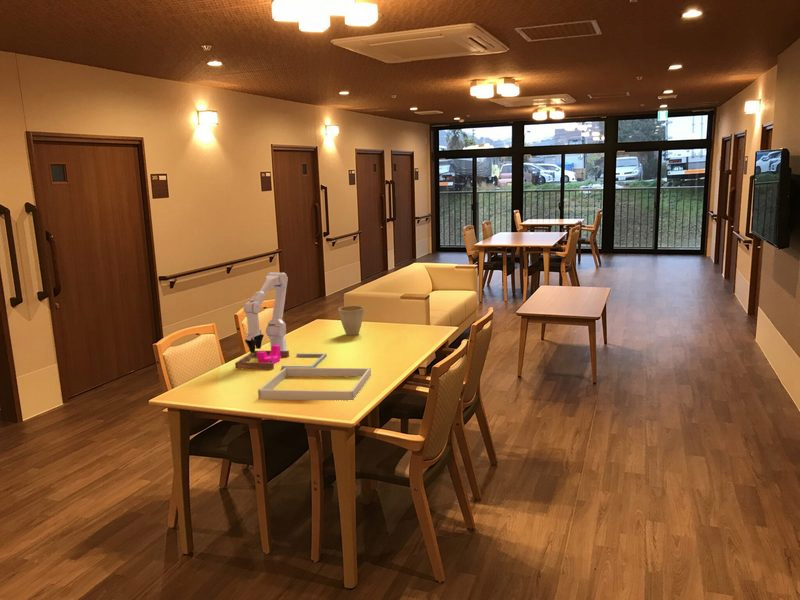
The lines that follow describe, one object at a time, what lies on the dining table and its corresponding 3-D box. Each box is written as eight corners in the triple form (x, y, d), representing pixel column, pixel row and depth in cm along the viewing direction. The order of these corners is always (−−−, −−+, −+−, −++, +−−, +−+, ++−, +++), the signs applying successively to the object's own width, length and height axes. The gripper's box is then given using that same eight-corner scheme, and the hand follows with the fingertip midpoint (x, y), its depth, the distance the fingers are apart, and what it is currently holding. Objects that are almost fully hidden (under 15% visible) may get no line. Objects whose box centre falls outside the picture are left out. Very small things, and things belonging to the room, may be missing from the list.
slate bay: (297, 356, 340) (297, 353, 340) (326, 356, 337) (326, 353, 337) (281, 369, 317) (281, 366, 317) (312, 369, 314) (312, 366, 314)
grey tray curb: (285, 375, 307) (285, 367, 306) (371, 376, 299) (370, 368, 298) (258, 399, 275) (257, 390, 274) (353, 400, 267) (352, 391, 266)
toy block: (268, 367, 322) (267, 353, 321) (258, 366, 325) (256, 352, 323) (284, 359, 336) (283, 345, 335) (274, 358, 338) (273, 344, 337)
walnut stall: (254, 356, 344) (253, 350, 344) (289, 356, 341) (288, 350, 340) (235, 368, 322) (235, 363, 322) (273, 369, 318) (272, 363, 318)
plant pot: (338, 337, 375) (336, 311, 372) (341, 331, 390) (340, 306, 387) (364, 336, 374) (362, 310, 371) (366, 330, 389) (364, 305, 386)
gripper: (251, 321, 336) (254, 346, 339) (240, 328, 322) (242, 354, 325) (264, 321, 335) (266, 346, 337) (253, 328, 321) (255, 354, 323)
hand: (255, 350), depth 331 cm, fingers open, 7 cm apart
